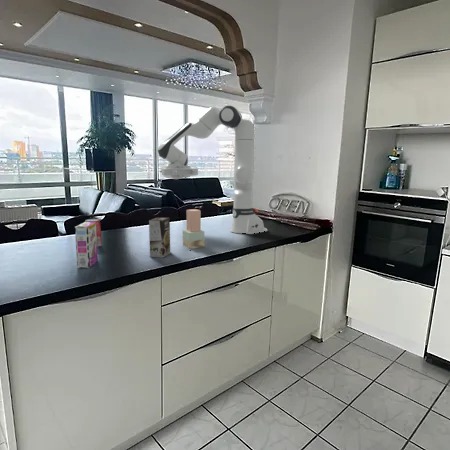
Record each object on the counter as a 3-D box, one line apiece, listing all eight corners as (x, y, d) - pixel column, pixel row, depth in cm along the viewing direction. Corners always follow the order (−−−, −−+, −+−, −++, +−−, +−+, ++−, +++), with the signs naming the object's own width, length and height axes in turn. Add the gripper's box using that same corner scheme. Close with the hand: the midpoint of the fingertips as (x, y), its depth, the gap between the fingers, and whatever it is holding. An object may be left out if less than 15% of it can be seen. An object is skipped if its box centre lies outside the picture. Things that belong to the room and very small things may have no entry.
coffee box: (163, 257, 143) (162, 220, 140) (149, 256, 145) (148, 220, 142) (171, 252, 152) (170, 217, 149) (157, 251, 153) (156, 216, 150)
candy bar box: (90, 268, 128) (87, 226, 125) (77, 269, 128) (73, 226, 125) (98, 260, 139) (96, 221, 136) (86, 260, 139) (83, 221, 136)
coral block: (195, 229, 166) (195, 209, 164) (200, 230, 162) (200, 210, 160) (186, 230, 163) (186, 209, 161) (191, 231, 159) (191, 211, 157)
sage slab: (197, 236, 168) (197, 228, 168) (204, 239, 161) (204, 231, 161) (182, 237, 165) (182, 229, 164) (188, 241, 158) (188, 233, 157)
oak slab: (197, 243, 169) (197, 236, 169) (205, 247, 163) (205, 239, 162) (183, 245, 165) (182, 237, 165) (190, 249, 159) (189, 241, 158)
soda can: (105, 245, 164) (103, 219, 161) (94, 248, 157) (93, 221, 155) (93, 244, 166) (91, 218, 163) (82, 247, 159) (80, 220, 157)
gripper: (158, 165, 186) (167, 166, 175) (191, 165, 197) (202, 166, 185) (158, 177, 187) (167, 178, 176) (191, 176, 198) (202, 177, 186)
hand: (185, 172), depth 180 cm, fingers open, 8 cm apart
